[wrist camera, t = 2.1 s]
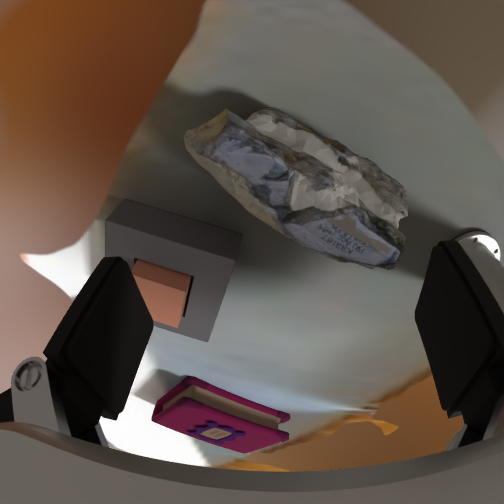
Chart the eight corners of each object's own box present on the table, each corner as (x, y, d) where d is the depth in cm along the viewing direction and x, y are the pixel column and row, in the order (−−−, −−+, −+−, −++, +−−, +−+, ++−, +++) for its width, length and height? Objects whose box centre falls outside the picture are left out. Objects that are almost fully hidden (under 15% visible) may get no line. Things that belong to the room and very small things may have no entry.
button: (191, 275, 37) (185, 291, 35) (183, 311, 41) (177, 328, 39) (138, 258, 36) (129, 273, 34) (135, 296, 41) (128, 311, 38)
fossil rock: (215, 140, 36) (150, 160, 23) (259, 75, 31) (213, 52, 18) (350, 240, 38) (359, 313, 24) (401, 183, 33) (443, 229, 20)
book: (244, 433, 79) (241, 456, 73) (156, 399, 71) (148, 424, 65) (292, 413, 68) (291, 440, 62) (190, 372, 60) (182, 403, 54)
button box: (242, 234, 39) (236, 260, 35) (214, 315, 48) (207, 342, 44) (124, 199, 38) (105, 220, 33) (120, 285, 47) (107, 309, 42)
